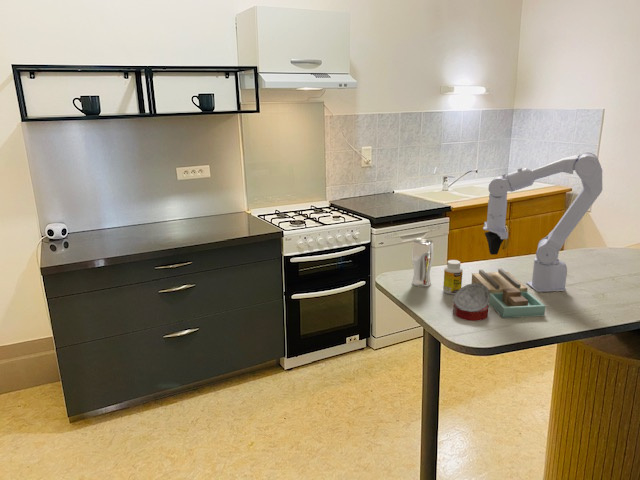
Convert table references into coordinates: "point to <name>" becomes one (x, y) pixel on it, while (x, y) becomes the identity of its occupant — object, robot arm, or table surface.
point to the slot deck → (497, 281)
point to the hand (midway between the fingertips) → (493, 253)
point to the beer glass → (422, 261)
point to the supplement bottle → (452, 277)
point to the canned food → (472, 302)
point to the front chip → (517, 301)
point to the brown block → (510, 294)
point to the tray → (517, 311)
